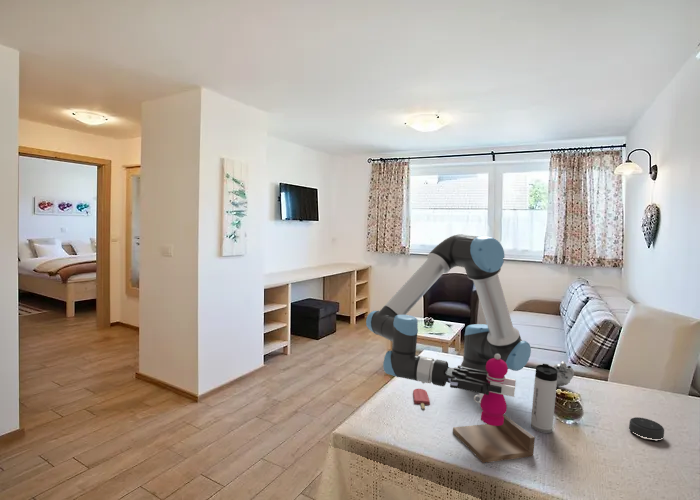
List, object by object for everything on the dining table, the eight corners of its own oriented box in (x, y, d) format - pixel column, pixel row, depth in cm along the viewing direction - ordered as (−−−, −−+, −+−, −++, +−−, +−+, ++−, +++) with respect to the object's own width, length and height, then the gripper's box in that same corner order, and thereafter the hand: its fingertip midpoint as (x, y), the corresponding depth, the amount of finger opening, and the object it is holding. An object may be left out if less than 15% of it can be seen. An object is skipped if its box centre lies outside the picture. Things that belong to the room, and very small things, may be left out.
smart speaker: (646, 443, 123) (648, 431, 123) (621, 428, 132) (623, 417, 132) (670, 442, 125) (672, 429, 125) (644, 427, 134) (645, 415, 134)
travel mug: (550, 425, 132) (556, 365, 130) (553, 435, 126) (559, 372, 124) (529, 421, 134) (534, 362, 132) (531, 430, 128) (537, 368, 126)
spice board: (497, 427, 129) (499, 410, 128) (533, 456, 114) (534, 437, 113) (452, 432, 124) (453, 414, 124) (483, 463, 109) (484, 443, 109)
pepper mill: (475, 414, 122) (480, 349, 120) (498, 414, 122) (504, 350, 121) (485, 426, 114) (491, 357, 113) (509, 427, 115) (516, 358, 114)
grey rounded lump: (575, 386, 165) (572, 356, 165) (576, 394, 156) (572, 363, 156) (548, 384, 169) (544, 356, 170) (547, 392, 161) (543, 362, 161)
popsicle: (415, 405, 139) (412, 387, 153) (415, 410, 139) (412, 391, 154) (431, 407, 138) (426, 388, 153) (431, 411, 138) (426, 392, 153)
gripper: (438, 373, 133) (515, 389, 124) (425, 394, 117) (512, 413, 107) (440, 351, 133) (517, 365, 123) (427, 368, 116) (514, 386, 107)
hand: (514, 388), depth 115 cm, fingers closed on pepper mill, 5 cm apart
